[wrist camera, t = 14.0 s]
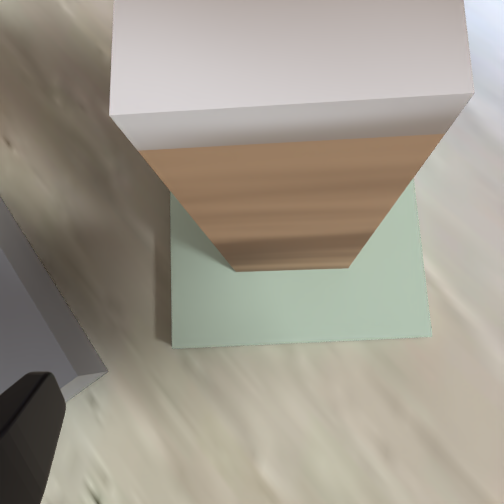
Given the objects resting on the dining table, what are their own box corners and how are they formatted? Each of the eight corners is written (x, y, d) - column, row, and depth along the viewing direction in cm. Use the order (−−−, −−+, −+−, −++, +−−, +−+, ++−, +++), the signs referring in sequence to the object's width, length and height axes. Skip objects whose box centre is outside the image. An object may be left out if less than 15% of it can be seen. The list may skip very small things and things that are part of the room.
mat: (427, 337, 17) (432, 336, 16) (176, 348, 17) (172, 348, 17) (400, 102, 18) (403, 94, 18) (172, 121, 19) (168, 114, 19)
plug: (347, 268, 17) (474, 93, 5) (235, 271, 17) (108, 115, 5) (341, 161, 18) (438, -207, 6) (234, 167, 18) (120, -172, 6)
